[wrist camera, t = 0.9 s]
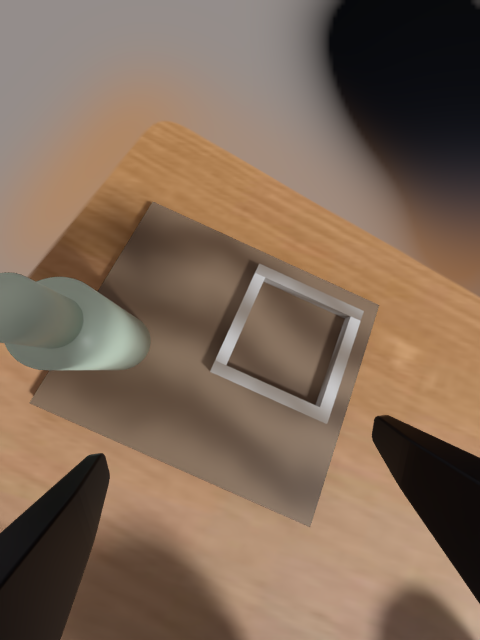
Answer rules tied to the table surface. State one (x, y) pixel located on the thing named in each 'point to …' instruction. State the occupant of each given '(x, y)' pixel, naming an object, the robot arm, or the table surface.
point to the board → (224, 364)
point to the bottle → (67, 326)
